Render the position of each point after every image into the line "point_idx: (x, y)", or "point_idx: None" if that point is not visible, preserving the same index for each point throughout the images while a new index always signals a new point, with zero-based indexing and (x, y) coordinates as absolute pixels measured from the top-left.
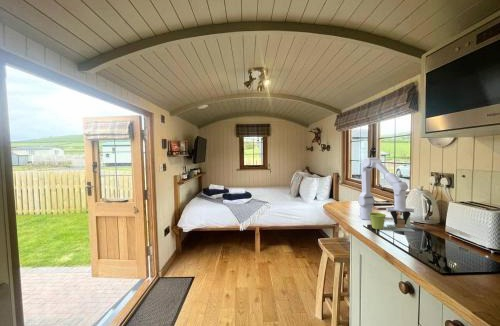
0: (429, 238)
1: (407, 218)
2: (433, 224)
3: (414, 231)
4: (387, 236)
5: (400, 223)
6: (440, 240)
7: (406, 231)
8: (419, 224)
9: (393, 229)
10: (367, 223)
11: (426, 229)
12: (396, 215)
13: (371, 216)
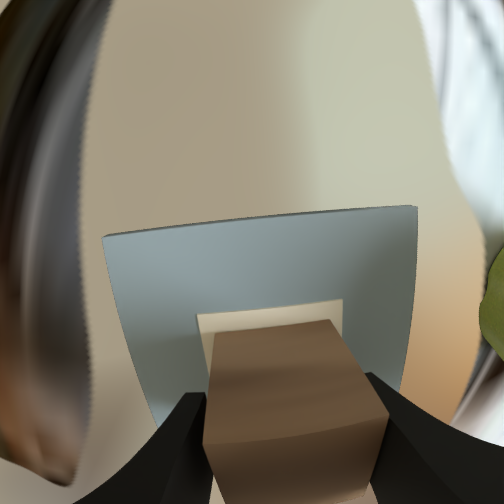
0: (61, 15)
1: (126, 475)
2: (4, 452)
3: (111, 236)
4: (485, 15)
5: (300, 376)
6: (10, 14)
7: (229, 219)
8: (64, 469)
9: (414, 238)
10: (500, 405)
11: (8, 357)
12: (481, 486)
13: None
